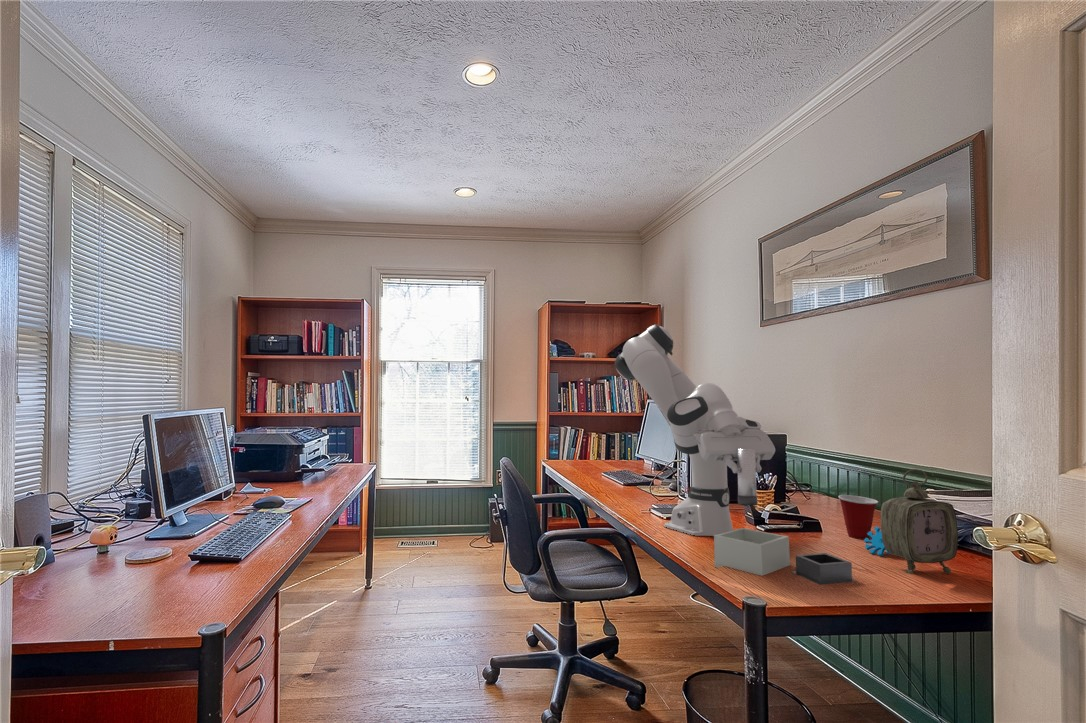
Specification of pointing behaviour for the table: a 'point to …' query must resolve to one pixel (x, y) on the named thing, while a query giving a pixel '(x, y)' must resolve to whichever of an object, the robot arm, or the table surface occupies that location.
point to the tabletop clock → (919, 527)
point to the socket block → (823, 568)
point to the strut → (747, 477)
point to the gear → (875, 542)
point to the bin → (751, 551)
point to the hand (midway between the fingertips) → (748, 471)
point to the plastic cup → (858, 515)
